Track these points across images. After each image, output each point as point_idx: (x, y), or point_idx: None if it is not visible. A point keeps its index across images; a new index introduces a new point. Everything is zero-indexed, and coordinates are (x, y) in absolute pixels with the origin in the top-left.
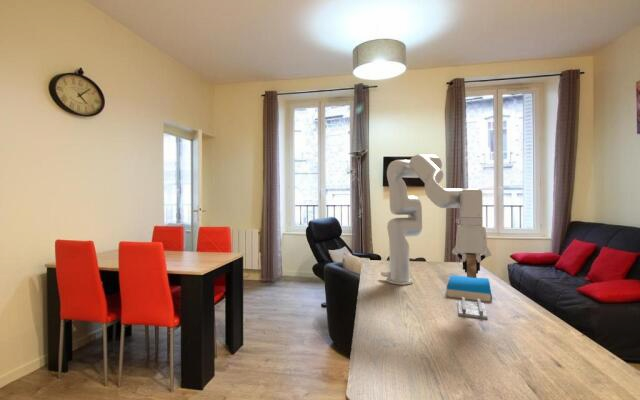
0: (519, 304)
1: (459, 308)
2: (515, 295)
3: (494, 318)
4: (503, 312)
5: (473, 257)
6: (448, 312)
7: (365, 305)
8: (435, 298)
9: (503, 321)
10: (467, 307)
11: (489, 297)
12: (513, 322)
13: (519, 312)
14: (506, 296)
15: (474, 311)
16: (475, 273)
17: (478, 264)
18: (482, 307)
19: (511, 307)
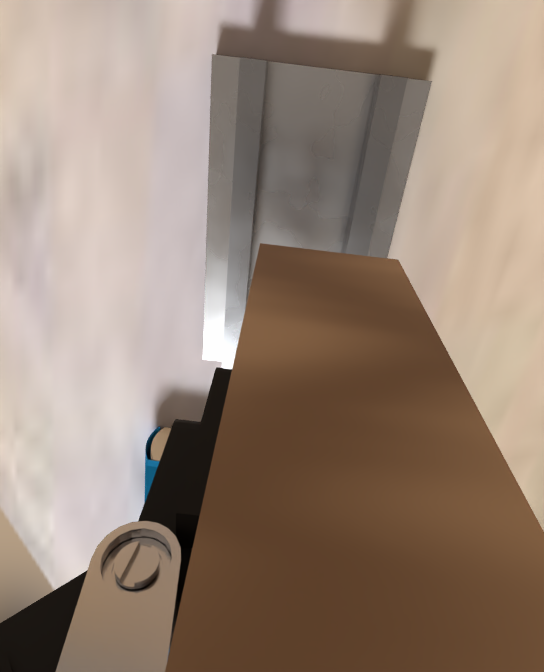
0: (13, 411)
1: (393, 201)
2: (36, 527)
3: (163, 99)
4: (98, 252)
5: (309, 572)
6: (484, 145)
7: None
8: (481, 414)
9: (104, 42)
10: (327, 241)
11: (160, 443)
12: (37, 41)
13: (8, 277)
14: (77, 509)
15: (293, 159)
16: (269, 275)
17: (174, 502)
18: (222, 267)
19: (53, 354)
